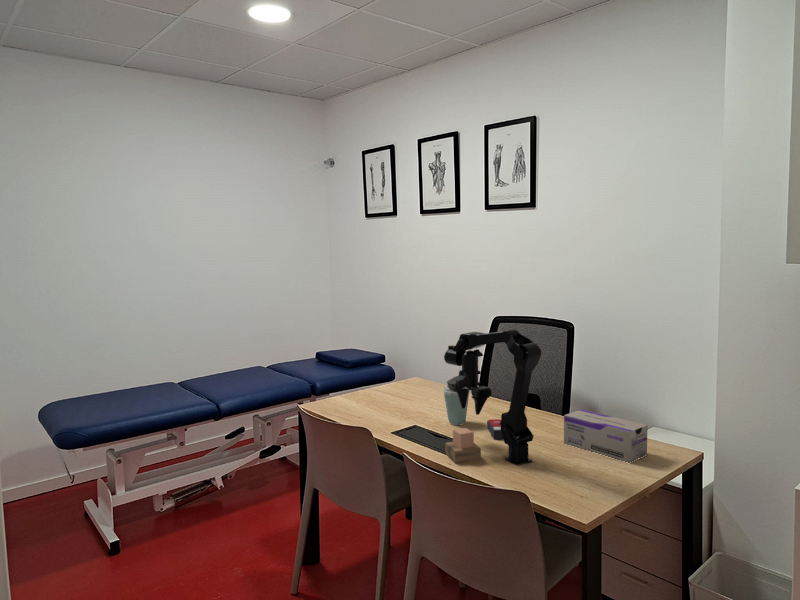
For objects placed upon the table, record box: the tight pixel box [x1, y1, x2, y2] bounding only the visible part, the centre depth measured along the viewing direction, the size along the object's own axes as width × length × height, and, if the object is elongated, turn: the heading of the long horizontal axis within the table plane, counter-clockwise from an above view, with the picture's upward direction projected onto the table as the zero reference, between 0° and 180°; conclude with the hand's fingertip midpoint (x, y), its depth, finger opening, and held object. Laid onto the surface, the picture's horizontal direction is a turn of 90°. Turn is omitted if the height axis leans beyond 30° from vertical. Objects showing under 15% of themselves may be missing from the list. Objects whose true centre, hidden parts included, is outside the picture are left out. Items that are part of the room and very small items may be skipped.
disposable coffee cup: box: [442, 384, 471, 426], centre depth 234 cm, size 11×11×15 cm
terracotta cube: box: [452, 427, 475, 449], centre depth 195 cm, size 5×5×5 cm
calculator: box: [486, 418, 520, 441], centre depth 221 cm, size 11×4×15 cm
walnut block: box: [444, 441, 482, 465], centre depth 196 cm, size 9×9×4 cm
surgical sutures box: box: [563, 409, 648, 464], centre depth 201 cm, size 25×11×11 cm, turn 39°
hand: (470, 411), depth 208 cm, fingers open, 9 cm apart
